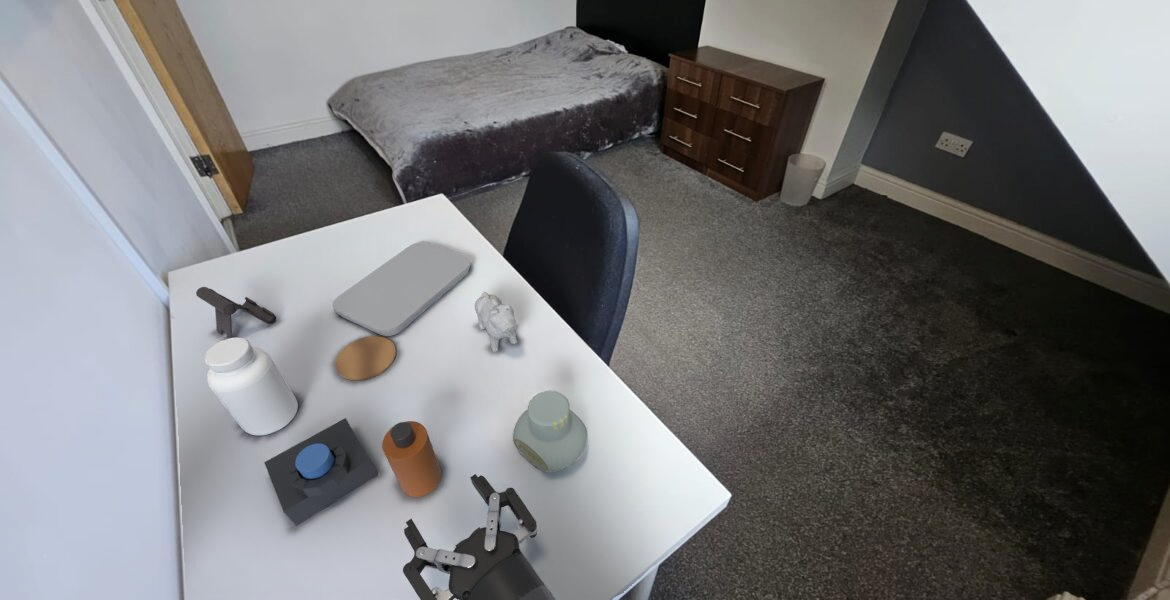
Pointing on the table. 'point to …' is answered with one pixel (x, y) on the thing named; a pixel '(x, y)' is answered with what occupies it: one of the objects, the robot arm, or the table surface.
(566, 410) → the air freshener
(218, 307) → the tablet stand
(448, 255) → the tablet
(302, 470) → the blue push button
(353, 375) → the coaster
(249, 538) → the table surface
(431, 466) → the bottle
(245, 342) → the pill bottle
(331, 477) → the dark grey button base
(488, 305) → the grey animal figurine
